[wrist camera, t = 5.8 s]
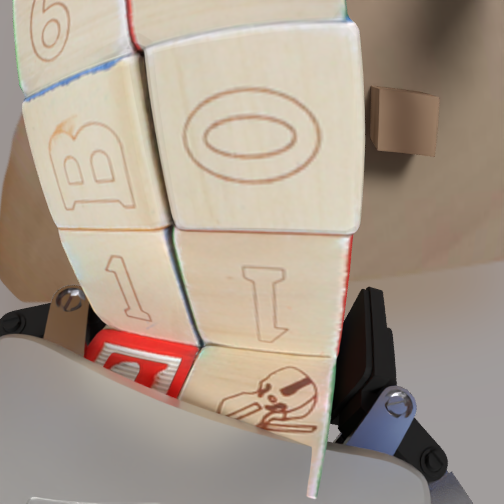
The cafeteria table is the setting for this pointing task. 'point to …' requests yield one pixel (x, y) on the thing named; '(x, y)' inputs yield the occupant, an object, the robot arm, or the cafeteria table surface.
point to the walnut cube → (404, 121)
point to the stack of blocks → (205, 191)
